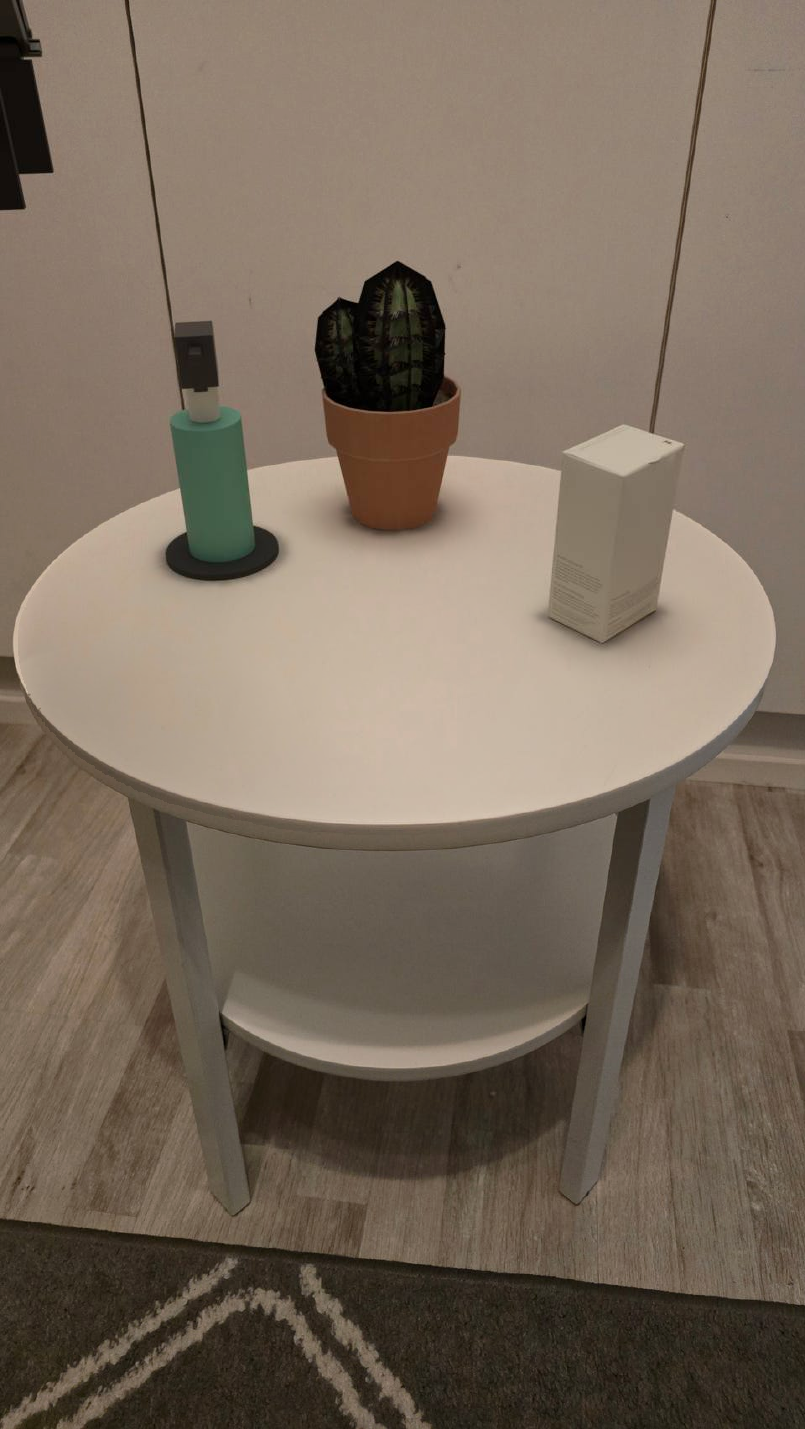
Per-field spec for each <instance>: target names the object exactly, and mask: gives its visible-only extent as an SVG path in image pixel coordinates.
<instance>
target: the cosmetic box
mask: <svg viewBox="0 0 805 1429" xmlns="http://www.w3.org/2000/svg"><path fill="white" fill-rule="evenodd" d="M684 450H685V444H684V443H683V442H680V441H677V440H673V439H670V438H667V437H664V436H661V435H658V434H654V433H651V432H648V431H646V430H643V429H641V428H640V429H639V428H636V427H634V426H631V425H628V424H621V425H618V426H617V427H614V428H612V429H610V430H608V431H605V432H603V433H601V434H599V435H597V436H595V437H592V438H590V439H588V440H586V441H583V442H581V443H579V444H577V445H574V446H572V447H570V448H568V449H565V450H563V451H562V458H561V470H560V481H559V491H558V501H557V502H558V503H557V513H556V522H555V523H556V524H555V534H554V545H553V555H552V563H551V564H552V565H551V566H552V567H551V577H550V585H549V596H548V597H549V598H548V607H547V616H548V618H550V619H552V620H554V621H556V622H558V623H559V624H562V625H564V626H566V627H568V628H570V629H572V630H574V631H575V632H578V633H580V634H583V635H585V636H587V637H588V638H590V639H592V640H595V641H596V642H599V643H601V644H602V643H603V644H604V643H605V642H606V641H608V640H610V639H612V638H613V637H614V636H616V635H618V634H619V633H620V632H622V631H624V630H625V629H627V628H629V627H630V626H632V625H633V624H635V623H636V622H639V621H640V620H641V619H643V618H645V617H646V616H648V615H649V614H651V613H653V612H654V611H656V610H657V609H658V601H659V597H660V596H659V595H660V590H661V589H660V588H661V583H662V576H663V572H664V566H665V559H666V553H667V547H668V541H669V535H670V529H671V523H672V520H673V519H672V518H673V514H674V513H673V512H674V507H675V501H676V495H677V488H678V484H679V483H678V482H679V476H680V472H681V467H682V461H683V460H682V459H683V455H684Z"/></svg>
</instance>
